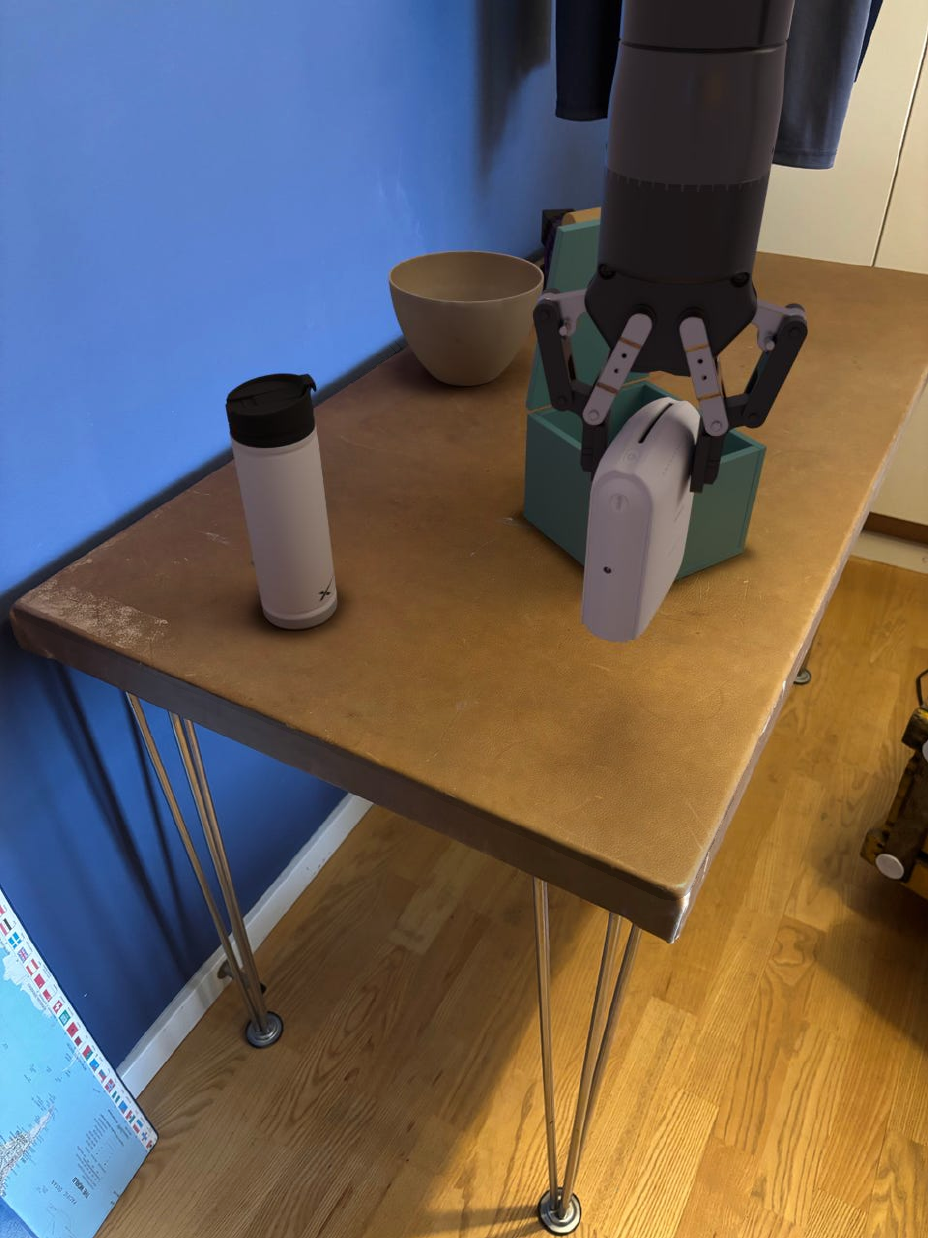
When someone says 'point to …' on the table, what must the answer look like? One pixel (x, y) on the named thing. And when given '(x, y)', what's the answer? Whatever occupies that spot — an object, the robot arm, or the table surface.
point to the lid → (573, 273)
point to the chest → (565, 488)
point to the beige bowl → (465, 311)
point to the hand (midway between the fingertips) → (647, 479)
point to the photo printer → (638, 519)
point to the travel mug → (283, 497)
